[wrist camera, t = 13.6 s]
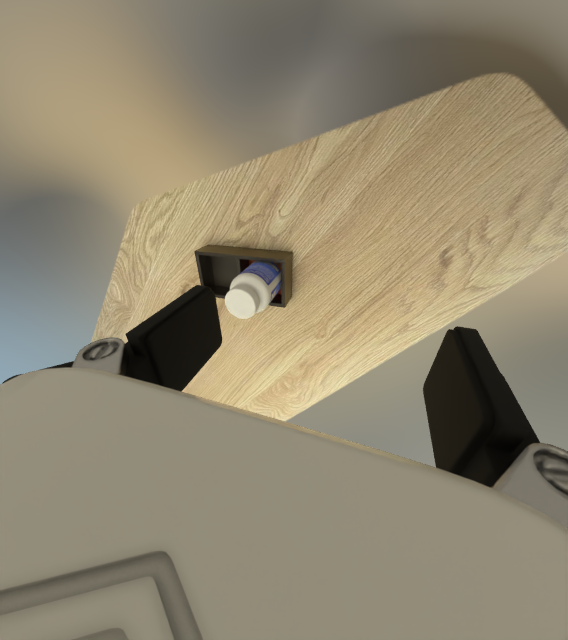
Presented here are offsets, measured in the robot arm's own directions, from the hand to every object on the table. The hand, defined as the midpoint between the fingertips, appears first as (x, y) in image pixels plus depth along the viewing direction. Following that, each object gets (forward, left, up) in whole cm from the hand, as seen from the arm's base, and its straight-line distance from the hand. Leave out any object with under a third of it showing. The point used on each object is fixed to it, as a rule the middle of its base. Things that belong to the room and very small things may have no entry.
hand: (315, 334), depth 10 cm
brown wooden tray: (+8, -15, -25) cm, 30 cm away
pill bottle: (+8, -12, -25) cm, 28 cm away
